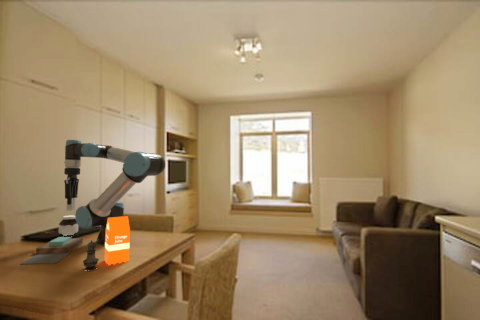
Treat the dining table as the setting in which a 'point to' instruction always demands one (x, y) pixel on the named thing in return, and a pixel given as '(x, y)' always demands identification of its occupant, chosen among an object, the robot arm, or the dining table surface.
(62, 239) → the card
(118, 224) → the orange juice
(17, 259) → the dining table surface
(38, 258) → the mat
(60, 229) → the spread jar
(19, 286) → the dining table surface
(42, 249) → the brown flat block
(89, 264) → the black chess piece
